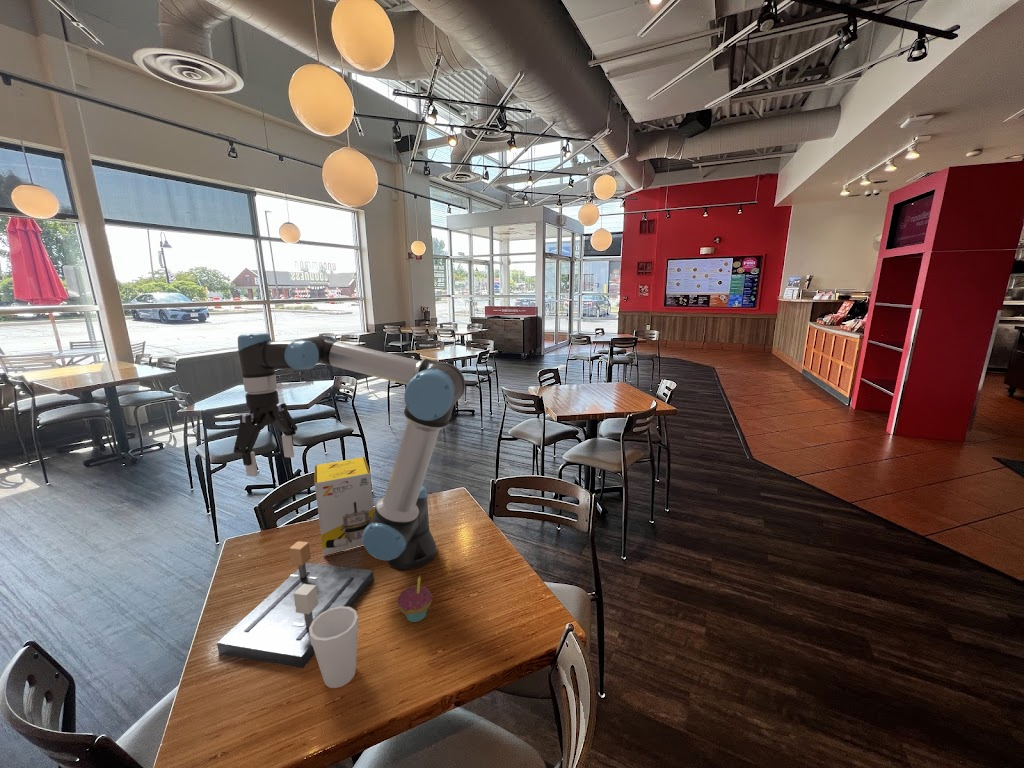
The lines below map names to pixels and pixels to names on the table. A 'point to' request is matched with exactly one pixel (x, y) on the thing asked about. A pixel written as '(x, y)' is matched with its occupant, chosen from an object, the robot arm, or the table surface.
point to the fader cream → (306, 601)
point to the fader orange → (300, 556)
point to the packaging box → (343, 503)
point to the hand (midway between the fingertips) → (272, 465)
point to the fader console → (293, 616)
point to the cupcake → (415, 602)
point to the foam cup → (335, 644)
